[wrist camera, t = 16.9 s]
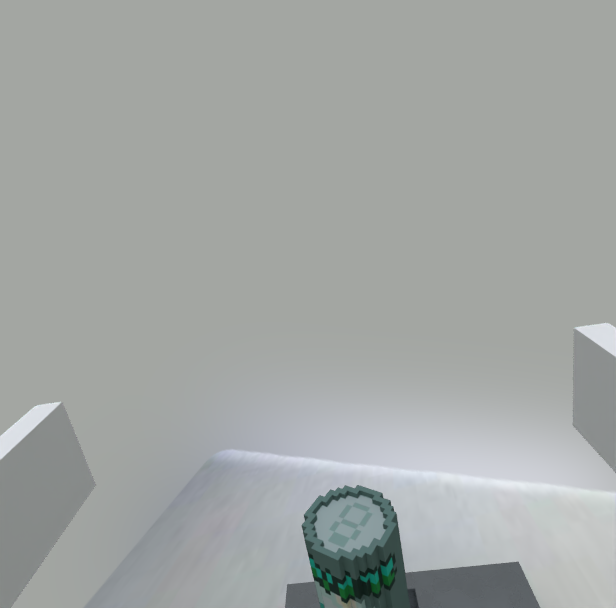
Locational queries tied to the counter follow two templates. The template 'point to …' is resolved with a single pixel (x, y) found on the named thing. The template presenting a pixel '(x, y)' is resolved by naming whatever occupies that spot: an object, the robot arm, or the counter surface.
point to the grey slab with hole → (448, 588)
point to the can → (355, 550)
